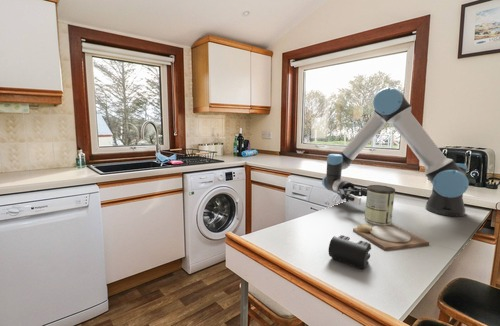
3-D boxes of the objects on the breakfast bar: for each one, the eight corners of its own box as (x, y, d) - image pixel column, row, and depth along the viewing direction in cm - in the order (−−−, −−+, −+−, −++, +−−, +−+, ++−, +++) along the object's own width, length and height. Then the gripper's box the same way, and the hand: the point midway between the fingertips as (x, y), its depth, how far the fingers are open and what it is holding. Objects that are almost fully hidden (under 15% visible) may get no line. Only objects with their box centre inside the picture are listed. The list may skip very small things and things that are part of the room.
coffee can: (363, 215, 120) (366, 183, 117) (389, 218, 116) (393, 186, 114) (365, 223, 110) (368, 189, 108) (393, 227, 107) (397, 192, 104)
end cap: (327, 261, 79) (328, 239, 78) (337, 253, 84) (338, 232, 83) (362, 274, 73) (365, 250, 72) (370, 264, 78) (373, 242, 77)
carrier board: (392, 226, 107) (393, 221, 106) (429, 244, 92) (430, 238, 91) (353, 230, 102) (353, 225, 101) (384, 250, 87) (385, 243, 86)
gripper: (364, 194, 138) (397, 207, 118) (320, 197, 132) (347, 211, 112) (366, 180, 137) (399, 190, 117) (321, 181, 131) (348, 193, 110)
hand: (373, 200), depth 114 cm, fingers open, 13 cm apart
